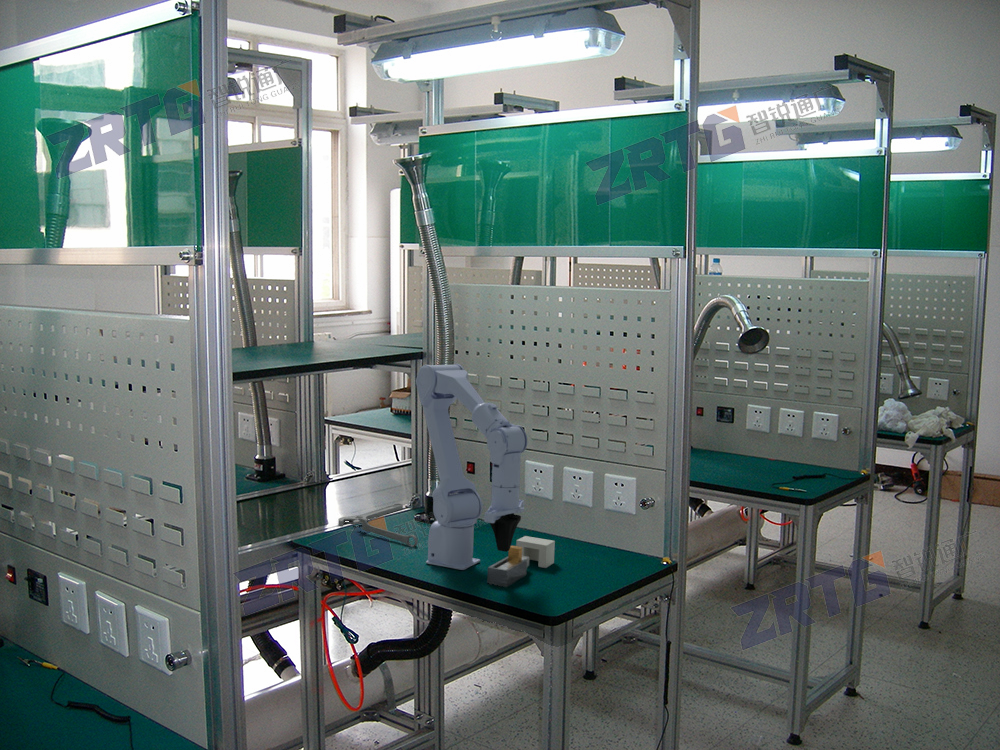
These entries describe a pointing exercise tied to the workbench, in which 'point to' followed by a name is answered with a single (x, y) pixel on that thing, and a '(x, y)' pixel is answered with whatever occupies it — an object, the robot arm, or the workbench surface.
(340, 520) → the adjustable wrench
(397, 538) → the combination wrench
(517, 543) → the socket block
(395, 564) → the workbench surface
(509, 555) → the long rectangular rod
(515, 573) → the sleeve
